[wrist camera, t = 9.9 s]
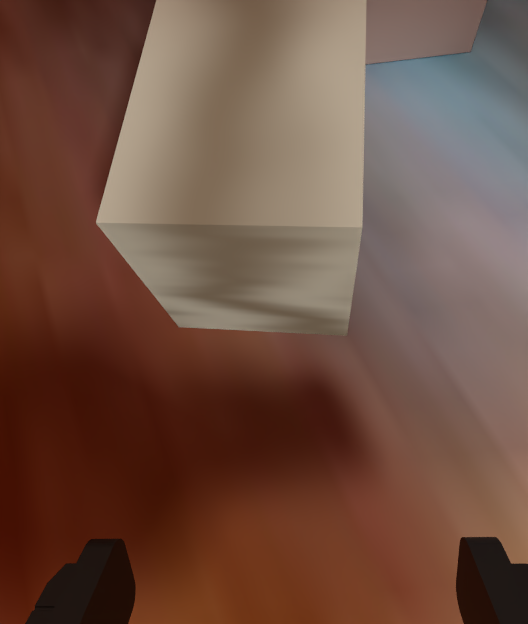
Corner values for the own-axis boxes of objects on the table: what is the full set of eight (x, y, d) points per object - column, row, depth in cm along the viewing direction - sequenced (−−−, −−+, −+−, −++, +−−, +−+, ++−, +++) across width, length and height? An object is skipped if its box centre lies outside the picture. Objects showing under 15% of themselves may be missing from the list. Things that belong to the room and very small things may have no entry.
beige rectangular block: (354, 81, 24) (368, -106, 17) (346, 336, 19) (362, 227, 11) (222, 85, 25) (180, -90, 18) (179, 327, 20) (95, 222, 12)
